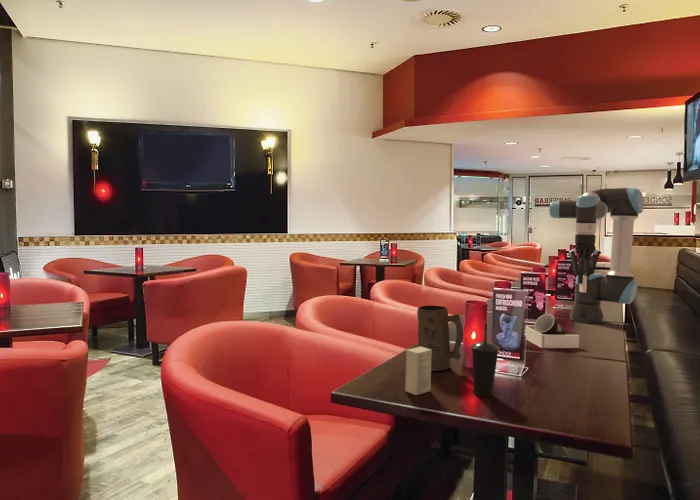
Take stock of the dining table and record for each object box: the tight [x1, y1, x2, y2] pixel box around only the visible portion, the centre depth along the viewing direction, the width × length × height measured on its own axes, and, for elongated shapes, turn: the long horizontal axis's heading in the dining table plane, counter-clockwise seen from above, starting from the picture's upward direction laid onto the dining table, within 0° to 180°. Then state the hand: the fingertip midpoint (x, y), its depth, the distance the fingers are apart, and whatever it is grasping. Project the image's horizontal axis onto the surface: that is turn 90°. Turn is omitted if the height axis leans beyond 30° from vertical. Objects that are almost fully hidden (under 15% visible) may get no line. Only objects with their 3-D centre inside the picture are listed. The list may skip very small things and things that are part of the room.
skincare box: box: [404, 346, 432, 396], centre depth 146 cm, size 6×4×12 cm
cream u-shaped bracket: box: [525, 324, 580, 349], centre depth 208 cm, size 15×18×5 cm
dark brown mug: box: [534, 313, 567, 335], centre depth 206 cm, size 12×9×10 cm
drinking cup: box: [470, 323, 500, 398], centre depth 145 cm, size 8×8×20 cm
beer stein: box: [416, 304, 464, 372], centre depth 169 cm, size 15×11×20 cm
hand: (582, 291), depth 211 cm, fingers closed
